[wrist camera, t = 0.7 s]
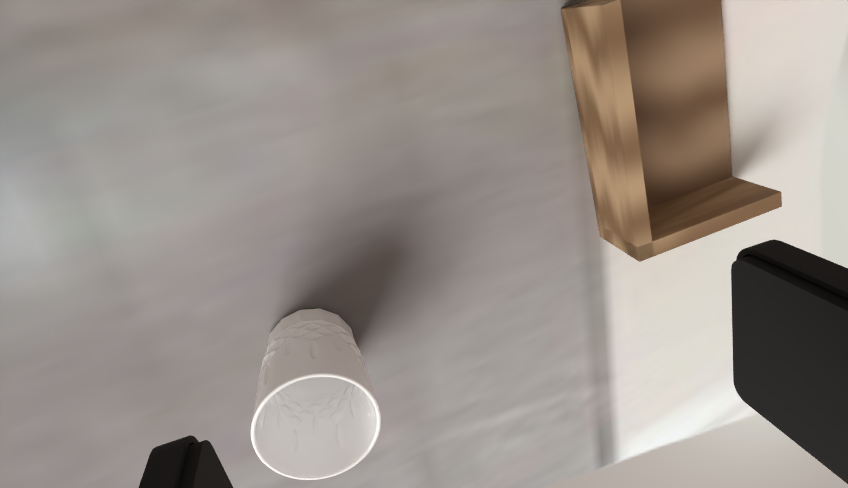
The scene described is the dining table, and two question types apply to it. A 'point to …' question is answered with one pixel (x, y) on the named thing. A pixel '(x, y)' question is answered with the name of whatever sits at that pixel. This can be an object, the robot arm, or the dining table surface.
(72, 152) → the dining table surface
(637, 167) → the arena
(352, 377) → the white cup
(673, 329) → the dining table surface
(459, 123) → the dining table surface
